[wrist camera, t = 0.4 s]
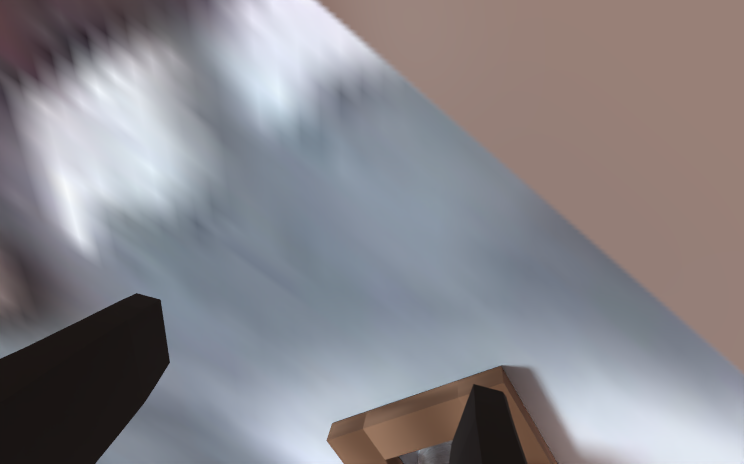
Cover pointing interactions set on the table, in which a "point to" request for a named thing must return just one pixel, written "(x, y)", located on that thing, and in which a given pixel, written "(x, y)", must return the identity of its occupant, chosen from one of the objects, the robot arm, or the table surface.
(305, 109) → the table surface
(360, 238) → the table surface
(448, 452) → the steel pin
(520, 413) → the socket block
